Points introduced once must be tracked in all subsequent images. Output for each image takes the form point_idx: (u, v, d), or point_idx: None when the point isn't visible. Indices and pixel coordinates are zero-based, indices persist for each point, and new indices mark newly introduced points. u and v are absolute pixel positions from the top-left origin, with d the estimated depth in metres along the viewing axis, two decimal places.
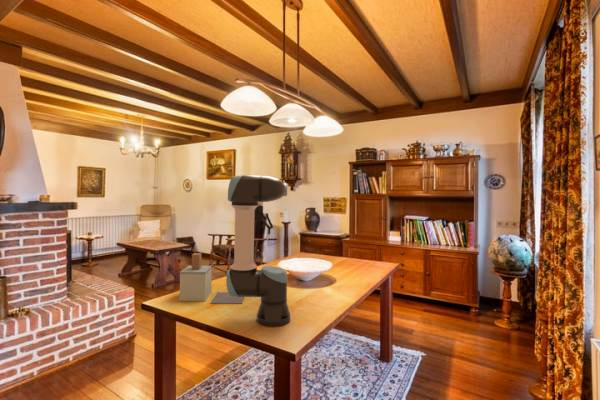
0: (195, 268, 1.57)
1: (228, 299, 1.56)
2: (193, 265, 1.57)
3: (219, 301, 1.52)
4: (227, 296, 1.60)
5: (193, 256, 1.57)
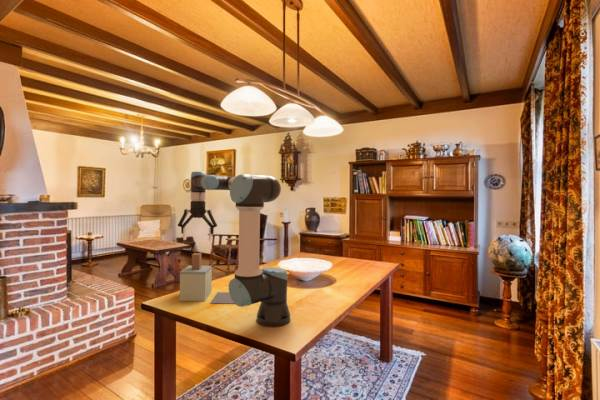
0: (195, 268, 1.57)
1: (228, 299, 1.56)
2: (193, 265, 1.57)
3: (219, 301, 1.52)
4: (227, 296, 1.60)
5: (193, 256, 1.57)
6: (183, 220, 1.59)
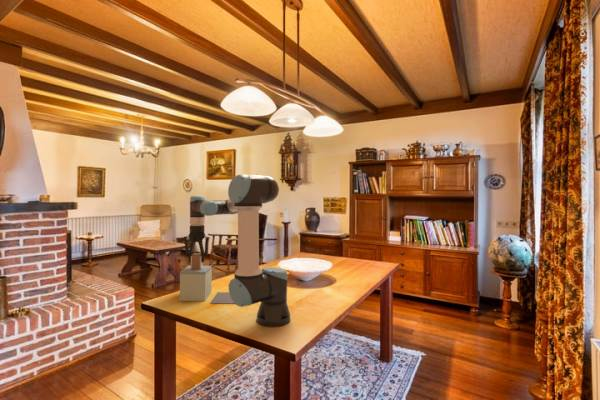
0: (195, 268, 1.57)
1: (228, 299, 1.56)
2: (193, 265, 1.57)
3: (219, 301, 1.52)
4: (227, 296, 1.60)
5: (193, 256, 1.57)
6: (188, 247, 1.59)
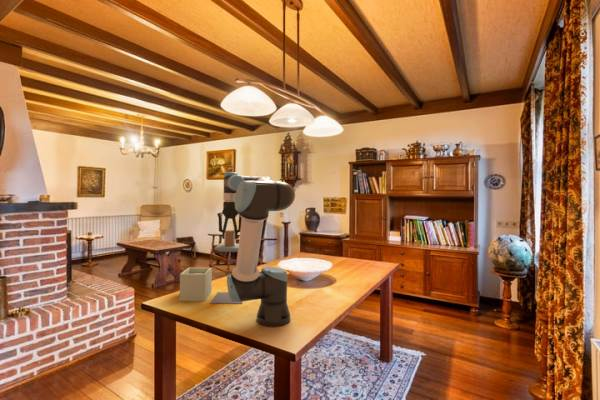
0: (229, 245, 1.56)
1: (228, 299, 1.56)
2: (227, 242, 1.56)
3: (219, 301, 1.52)
4: (227, 296, 1.60)
5: (227, 233, 1.55)
6: (221, 224, 1.57)
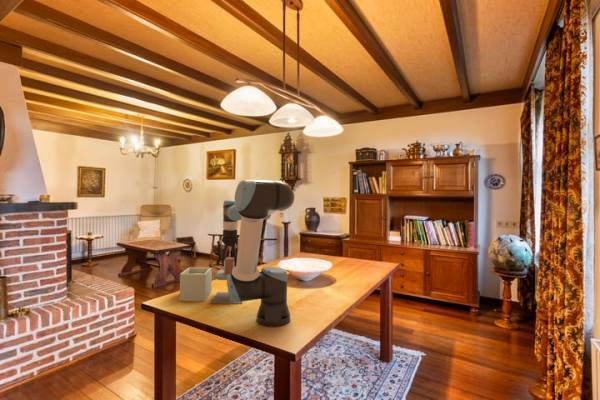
0: (228, 273, 1.56)
1: (228, 299, 1.56)
2: (226, 270, 1.56)
3: (219, 301, 1.52)
4: (227, 296, 1.60)
5: (226, 260, 1.56)
6: (221, 252, 1.58)
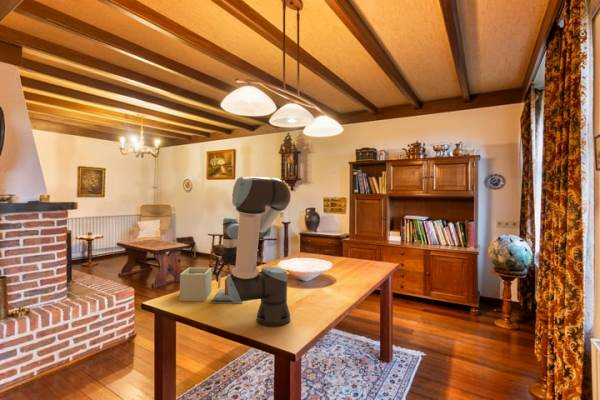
0: (228, 293, 1.56)
1: None
2: (226, 290, 1.56)
3: (219, 301, 1.52)
4: None
5: (226, 281, 1.56)
6: (217, 267, 1.58)
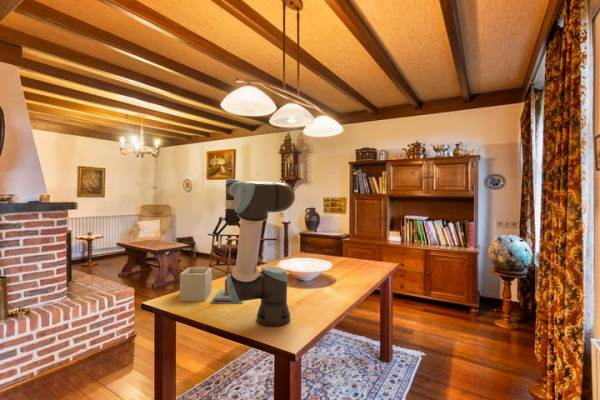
0: (228, 293, 1.56)
1: None
2: (226, 290, 1.56)
3: (219, 301, 1.52)
4: None
5: (226, 281, 1.56)
6: (217, 228, 1.57)
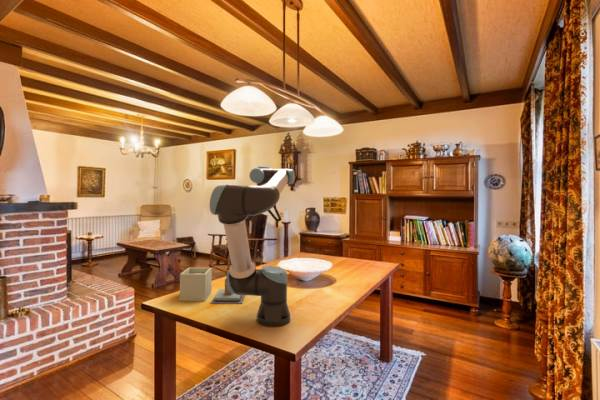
0: (228, 293, 1.56)
1: None
2: (226, 290, 1.56)
3: (219, 301, 1.52)
4: None
5: None
6: None
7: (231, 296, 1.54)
